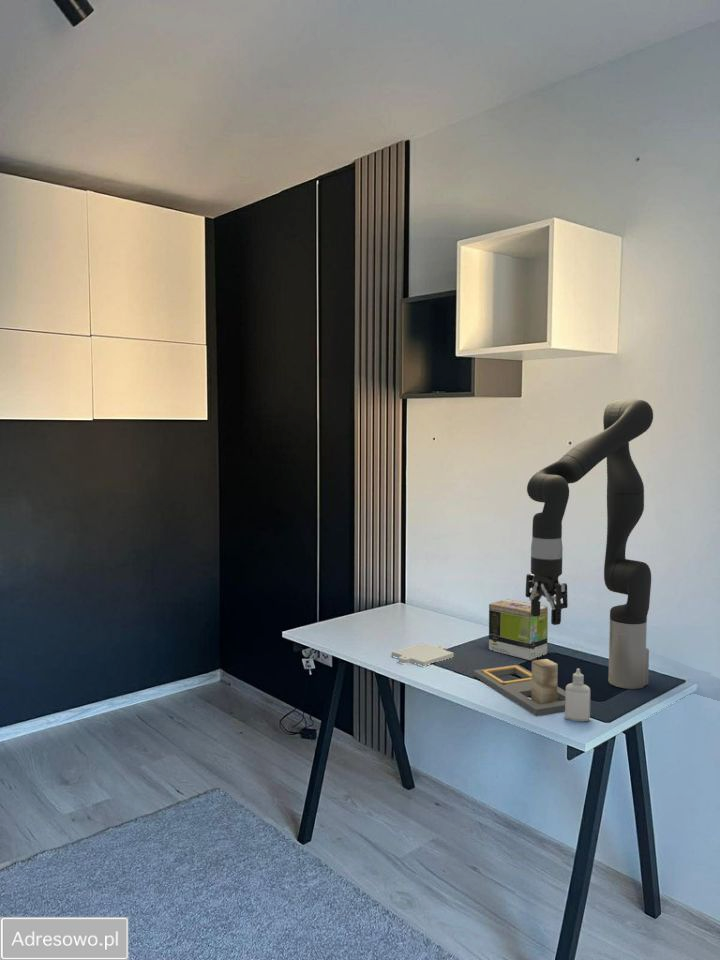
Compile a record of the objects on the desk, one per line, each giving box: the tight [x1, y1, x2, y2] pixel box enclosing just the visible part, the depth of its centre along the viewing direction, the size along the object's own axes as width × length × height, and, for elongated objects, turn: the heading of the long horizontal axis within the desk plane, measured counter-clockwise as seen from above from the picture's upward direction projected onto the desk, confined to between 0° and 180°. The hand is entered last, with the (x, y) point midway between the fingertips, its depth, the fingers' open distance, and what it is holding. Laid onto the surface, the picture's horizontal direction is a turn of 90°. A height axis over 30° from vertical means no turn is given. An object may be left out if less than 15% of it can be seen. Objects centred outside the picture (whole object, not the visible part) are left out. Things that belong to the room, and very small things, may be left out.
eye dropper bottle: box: [564, 668, 591, 723], centre depth 175 cm, size 4×6×12 cm
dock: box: [473, 664, 566, 716], centre depth 193 cm, size 14×30×2 cm, turn 21°
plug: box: [530, 658, 559, 704], centre depth 186 cm, size 4×4×10 cm
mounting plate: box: [391, 642, 455, 666], centre depth 222 cm, size 18×13×2 cm
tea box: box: [488, 598, 549, 661], centre depth 226 cm, size 15×10×15 cm, turn 43°
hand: (545, 620), depth 184 cm, fingers open, 8 cm apart
